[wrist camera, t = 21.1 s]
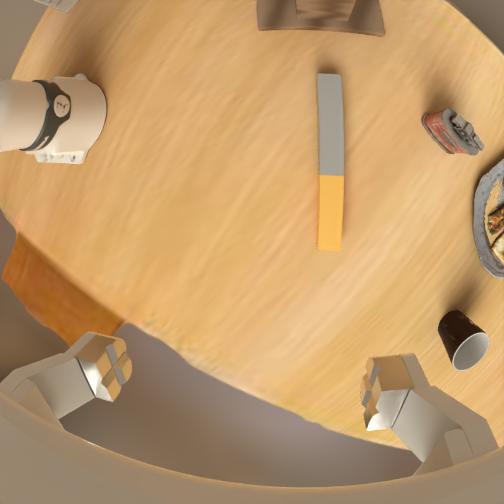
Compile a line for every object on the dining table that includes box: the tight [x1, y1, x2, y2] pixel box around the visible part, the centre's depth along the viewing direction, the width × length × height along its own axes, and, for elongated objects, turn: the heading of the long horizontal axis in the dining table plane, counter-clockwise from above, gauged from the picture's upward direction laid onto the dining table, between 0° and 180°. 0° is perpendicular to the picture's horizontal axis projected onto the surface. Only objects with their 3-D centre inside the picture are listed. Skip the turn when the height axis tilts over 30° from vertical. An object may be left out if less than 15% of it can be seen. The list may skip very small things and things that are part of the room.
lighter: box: [422, 109, 484, 155], centre depth 31 cm, size 8×3×10 cm, turn 53°
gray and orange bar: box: [316, 73, 344, 251], centre depth 39 cm, size 3×26×3 cm, turn 1°
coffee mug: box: [438, 310, 490, 371], centre depth 41 cm, size 12×9×10 cm
